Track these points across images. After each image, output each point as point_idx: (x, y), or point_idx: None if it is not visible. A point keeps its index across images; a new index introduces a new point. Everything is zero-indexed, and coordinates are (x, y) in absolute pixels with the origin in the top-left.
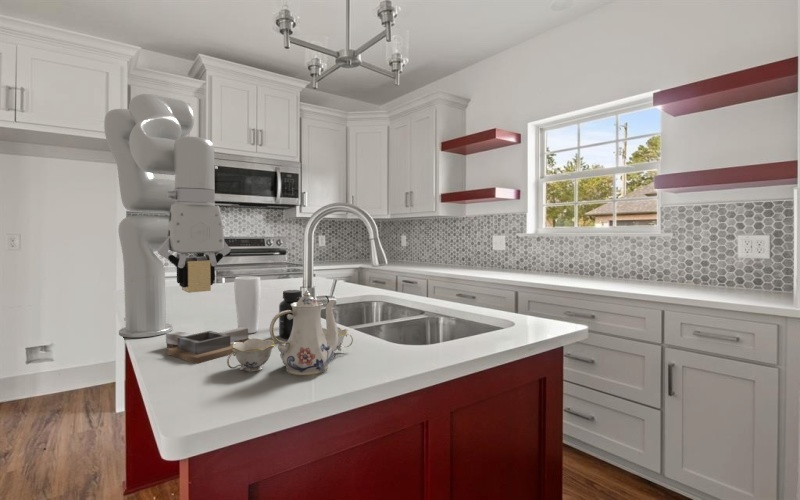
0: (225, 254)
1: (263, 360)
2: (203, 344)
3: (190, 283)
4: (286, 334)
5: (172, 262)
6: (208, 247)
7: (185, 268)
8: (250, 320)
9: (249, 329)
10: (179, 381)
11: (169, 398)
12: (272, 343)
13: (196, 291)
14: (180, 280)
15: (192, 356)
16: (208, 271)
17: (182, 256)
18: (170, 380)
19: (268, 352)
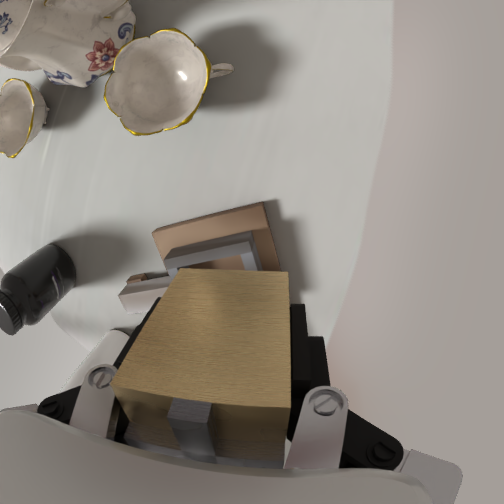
0: (27, 408)
1: (158, 51)
2: (234, 241)
3: (276, 297)
4: (63, 257)
5: (372, 430)
6: (71, 467)
7: (299, 379)
8: (107, 346)
9: (117, 335)
10: (330, 106)
11: (368, 33)
12: (111, 83)
13: (247, 272)
14: (316, 340)
15: (266, 224)
16: (153, 330)
17: (319, 460)
18: (343, 125)
19: (139, 50)
